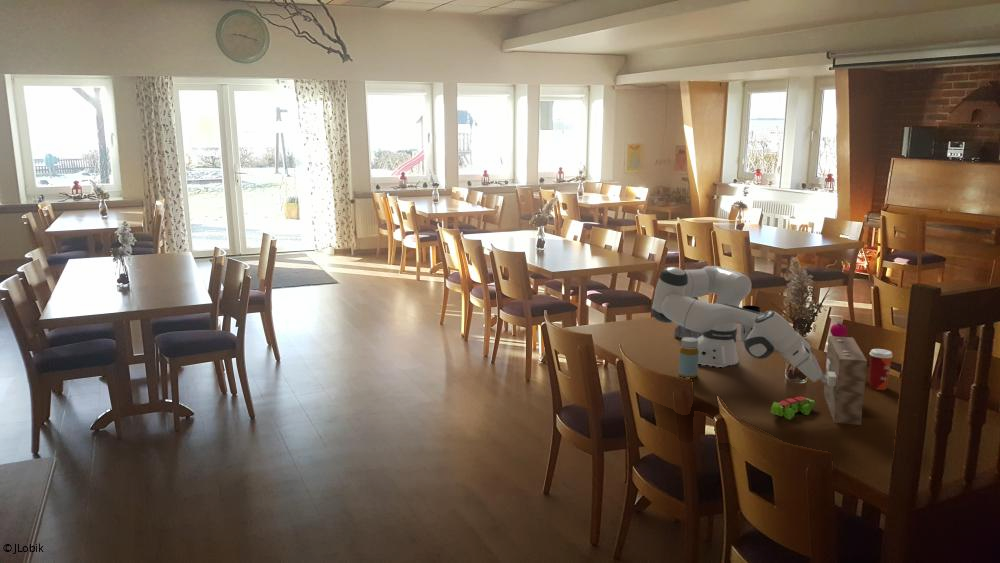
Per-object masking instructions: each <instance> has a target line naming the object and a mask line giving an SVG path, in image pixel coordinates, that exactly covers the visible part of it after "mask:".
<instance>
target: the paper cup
mask: <svg viewBox="0 0 1000 563" xmlns="http://www.w3.org/2000/svg"><path fill="white" fill-rule="evenodd" d="M893 356H894V355H893V352H892V351H891V350H888V349H884V348H883V349H882V348H873V349H871V350H870V352H869V380H868V381H869V386H868V387H869V388H870V389H873V390H876V391H885V390H887V386H888V382H889V375H890V369H891V363H892V358H893Z"/></svg>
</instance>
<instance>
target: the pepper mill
mask: <svg viewBox="0 0 1000 563" xmlns="http://www.w3.org/2000/svg"><path fill="white" fill-rule="evenodd" d="M829 331H830V334H831V336H836V337H846V335H847V334H848V328H847V327H846V326H845V325H844V324H843V323H842V320H837V321H836V324H833V325H832V326H831V327H830V330H829ZM825 360H827V356H825Z"/></svg>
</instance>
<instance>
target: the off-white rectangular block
mask: <svg viewBox="0 0 1000 563" xmlns="http://www.w3.org/2000/svg"><path fill="white" fill-rule="evenodd" d="M836 378H837V376H836V374H835V372H829V371H827V379H828V381H827V383H828V386H836Z"/></svg>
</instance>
